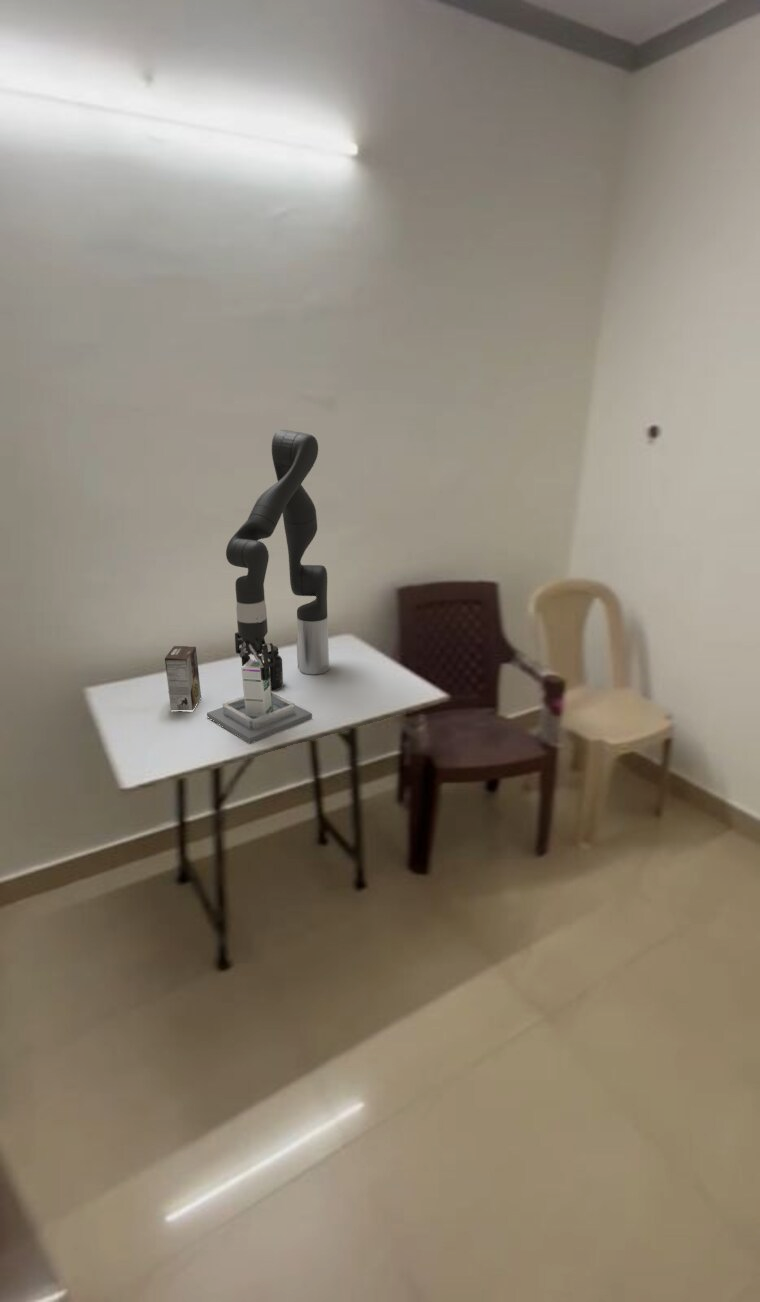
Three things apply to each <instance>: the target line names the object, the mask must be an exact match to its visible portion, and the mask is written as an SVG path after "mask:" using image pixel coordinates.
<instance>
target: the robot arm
mask: <svg viewBox="0 0 760 1302" xmlns="http://www.w3.org/2000/svg"><path fill="white" fill-rule="evenodd" d="M318 453H319V444H318V440H317V438H316V437H315V436H314V435H311V434H309V433H305V432H299V431H294V430H287V429H279V430H277V431H276V432H274V435H273V436H272V441H271V457H272V458H271V459H272V462H273V467H274V470H275V475H276V480H277V482H276V483H274V484H273V485H271V487H269V488H268V489H266V490H265V491H264V492H263V493H262V494H261V495H260V496H259V497H258V499H257V500H256V502H255V504H254V505H253V507H252V509H251V511H250V514H249V516H248V518H247V520H246V521H245V522H244V523H243V524H242V526H240V528H239V529H238V530H237V531H236V532H235V533H234V534H233V536H231V538H230V540H229V541H228V543H227V546H226V549H225V557H226V560H227V562H228V563H229V564H230V565H232V566H235V567H237V568H238V567H240V568H245V569H247V573H246V575H241V576H239V577H238V578H236V579H235V595H236V596H235V599H236V605H235V606H236V607H235V609H236V623H237V632H234V641H235V643H234V644H235V646H234V647H235V653H236V654H237V655H239V657H240V658H241V667H242V666H243V665H244V664H245V663H247V662H248V661H249V659H251V655H252V656H253V657H254V659H256V660H257V661H258V662H259V664H260V666H261V667H260V670H261V680H263V681H265V680H268V679H269V678H270V671H269V667H270V666H273V665H275V661H274V651H273V646H274V645H273V643H272V642H271V643H270V642H269V643H266V640H265V637H266V635H267V634H268V633H269V630H268V616H267V605H266V600H265V599H266V598H265V586H264V585H265V579H266V573H267V568H268V565H269V557H270V555H269V550H268V547H267V546H266V545H265V543H264V542H262V541H260V540H263V539H267V538H270V537H272V535H273V533H274V531H275V529H276V527H277V525H278V524H279V522H280V519H281V517H283V528H284V532H285V538H286V545H287V551H288V566H289V568H288V569H289V570H288V571H289V582H290V589H291V592H292V594H293V595H294V596H299V597H315V599H313V600H312V601H310V602H307V603H305V604H302V605H300V606H298V607H297V610H296V620H297V638H296V657H297V658H296V659H297V668H298V669H299V671H300V673H303V674H305V675H321V674H325V673H327V672H328V671H329V670H330V657H329V655H330V654H329V651H330V650H329V626H328V625H329V624H328V619H329V617H328V572H327V568H326V567H325V566H324V565H322V564H313V565H312V564H302V563H301V562H302V558H303V556H304V554H305V552H306V550H307V549H308V548H309V545H311V543H312V542H313V539H314V538H315V536H316V535H317V531H318V519H317V509H316V506H315V504H314V501H313V500H312V498H311V496H310V495H309V494H308V492H307V491H306V489H305V488H304V486H303V485H302V484H303V482H304V480H305V479H306V478H307V476H308V475H309V473H310V472H311V470H312V468H313V467H314V466H315V463H316V461H317V458H318V455H319V454H318ZM262 652H263V655H262ZM263 658H264V663H263V661H262V659H263ZM269 658H270V660H269Z"/></svg>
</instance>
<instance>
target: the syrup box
mask: <svg viewBox="0 0 760 1302" xmlns="http://www.w3.org/2000/svg"><path fill="white" fill-rule="evenodd" d="M262 661H263V663H264V660H263V659H262ZM260 667H261V666H260V664H259V662H258V661H257V660H256V659H255V658H250V659H249V661H248V662H247V663H245V664H244V665H243V666H242V665H241V677H242V687H243V688H242V689H243V697H244V700H245V711H246V715H247V716H250V717H260V716H262V715H265V714H268V713H270V712H271V710H272V709H273V703H272V693H273V692H272V691H273V690H271V678H269V679H268V680H265V681H263V680H261V670H260ZM269 671H270V667H269Z"/></svg>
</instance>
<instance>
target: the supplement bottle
mask: <svg viewBox="0 0 760 1302" xmlns="http://www.w3.org/2000/svg"><path fill="white" fill-rule="evenodd" d="M273 651H274V661H275V665H273V666H270V678H271V690H272V691H274V690H279V689H281V688H282V687H283V686H284V673H283V667H284V666H283V658H282V657H281V655H279V654H280V653H279V647H278V646H277V645H273ZM261 655H263V652H262V654H261ZM263 660H264V658H263ZM269 660H270V658H269Z"/></svg>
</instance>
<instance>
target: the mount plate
mask: <svg viewBox="0 0 760 1302" xmlns="http://www.w3.org/2000/svg"><path fill="white" fill-rule="evenodd" d="M294 705H295V714H294V715H292V716H289V717H287V718H284V719H281V720H279V721H276V722H274V723H271V724H269V725H266V726H264V727H261V728H259V729H256V730H253V729H248V728H247V727H245V726H243V725H242V724H240V723H238V722H236V721H235V720H233V719H231V718H230V717H228V716H226V715H224V712H223V706H222V707H220V708H216V709H214V710H213V709H212V710H211V711H208V712H207V713H206V716H207V717H209V718H210V719H212V720H214V721H215V722H217V723H218V724H217V723H216V724H217V725H219V724H220V725H221V727H222V726H223V727H224V729H225V728H226V729H225V730H227V731H228V730H229V731H228V732H230V731H231V732H230V733H232V734H233V733H234V735H235V734H236V735H235V736H237V735H238V736H240V737H241V738H240V737H239V738H240V739H242V738H243V739H244V740H243V739H242V740H243V741H245V742H247V743H248V742H249V744H252V742H253V743H254V741H255V742H258V741H260V740H262V738H263V739H264V738H268V737H269V736H273V735H275V734H277V733H279V732H282V731H285V730H286V729H289V728H292V727H294V726H297V725H300V724H301V723H304V722H307V721H309V720H311V719H313V714H312V712H310V711H309V710H306V709H304V708H302V707H300V706H298V705H296V704H294ZM278 709H281V708H280V707H278V706H276V705H274V704H273V709H272V710H271V712H273V711H276V710H278ZM237 710H238V711H240V712H241V713H243V714H245V715H246V711H245V707H243V708H240V709H237ZM248 717H250V716H248ZM209 718H208V719H209ZM250 718H252V719H255V718H257V717H250ZM210 719H209V720H210ZM212 720H211V721H212ZM214 721H213V722H214ZM215 722H214V723H215ZM220 725H219V726H220ZM223 727H222V728H223ZM238 736H237V737H238Z"/></svg>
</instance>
